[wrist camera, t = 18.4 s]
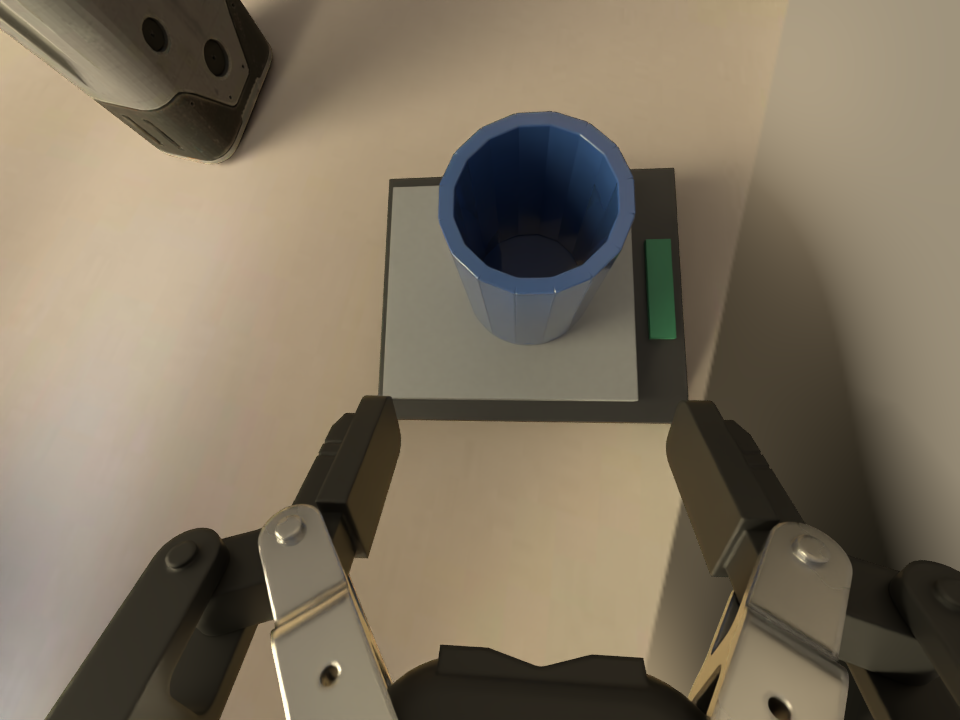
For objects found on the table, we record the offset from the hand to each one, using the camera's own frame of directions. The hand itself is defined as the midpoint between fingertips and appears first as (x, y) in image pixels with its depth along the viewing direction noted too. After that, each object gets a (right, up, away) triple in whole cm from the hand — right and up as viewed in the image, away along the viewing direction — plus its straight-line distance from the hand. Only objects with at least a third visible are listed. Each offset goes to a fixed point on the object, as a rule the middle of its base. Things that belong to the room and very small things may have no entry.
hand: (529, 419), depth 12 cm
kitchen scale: (+1, +5, +11) cm, 12 cm away
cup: (+1, +5, +8) cm, 10 cm away
